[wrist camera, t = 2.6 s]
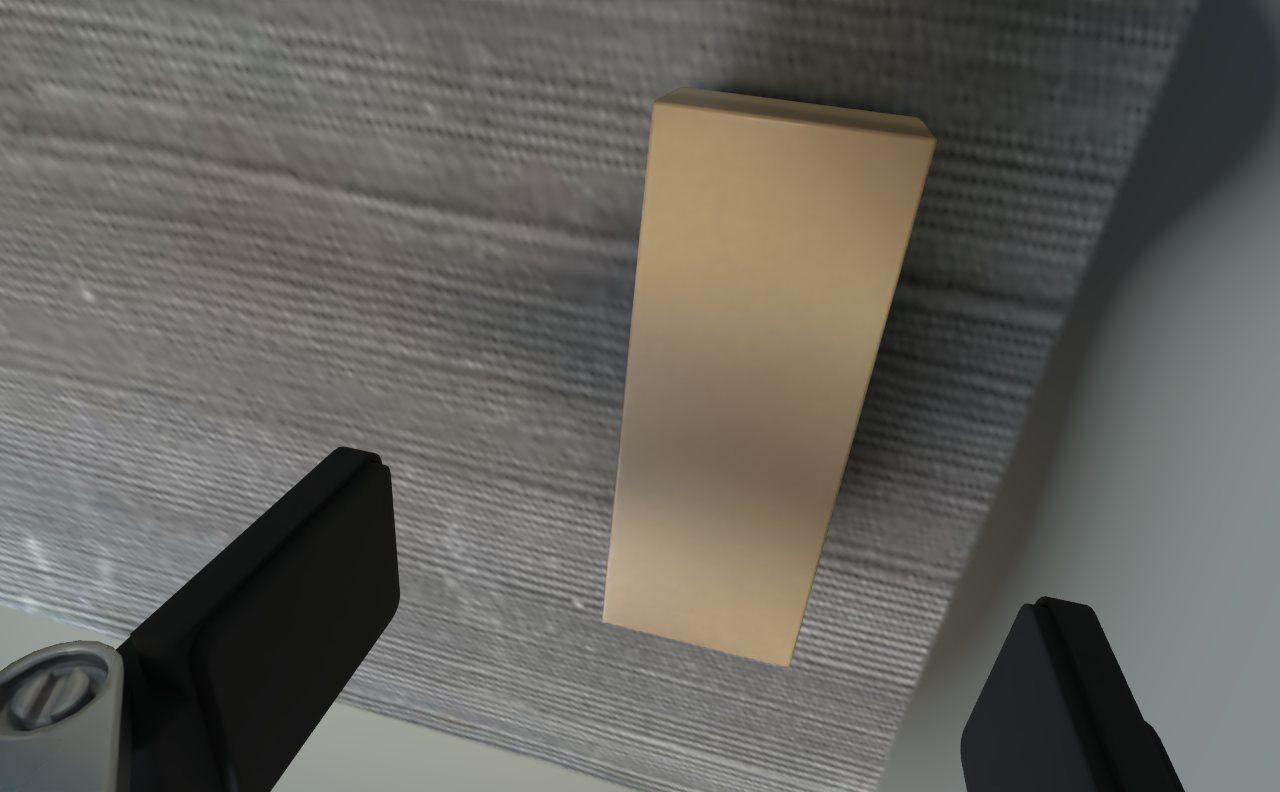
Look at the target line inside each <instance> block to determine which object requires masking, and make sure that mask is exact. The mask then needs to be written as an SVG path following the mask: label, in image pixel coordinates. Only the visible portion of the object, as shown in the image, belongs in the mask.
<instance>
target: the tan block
mask: <svg viewBox="0 0 1280 792" xmlns="http://www.w3.org/2000/svg"><path fill="white" fill-rule="evenodd" d="M935 147H936V138H935V137H934V136H933V135H932V133H931V132H930V131H929V130H928V128H927V127H926V126H925V124H924V123H923V122H922V121H921V119H919V118H917V117H909V116H901V115H894V114H886V113H878V112H871V111H863V110H856V109H848V108H840V107H833V106H825V105H817V104H810V103H802V102H794V101H787V100H779V99H771V98H764V97H756V96H748V95H741V94H733V93H725V92H718V91H710V90H703V89H695V88H687V87H680V88H678V89H676V90H674V91H672V92H670V93H669V94H667V95H665V96H663V97H661V98H659V99H657V100H656V101H654V103H653V105H652V115H651V126H650V136H649V146H648V156H647V166H646V177H645V187H644V197H643V207H642V217H641V227H640V238H639V248H638V258H637V268H636V278H635V288H634V299H633V309H632V319H631V329H630V339H629V350H628V360H627V370H626V380H625V390H624V400H623V411H622V421H621V431H620V441H619V451H618V461H617V472H616V482H615V492H614V502H613V512H612V523H611V533H610V543H609V553H608V563H607V573H606V584H605V594H604V604H603V614H602V620H603V622H606V623H610V624H614V625H618V626H622V627H626V628H630V629H634V630H638V631H642V632H646V633H650V634H654V635H658V636H662V637H666V638H670V639H674V640H679V641H683V642H687V643H691V644H695V645H699V646H703V647H707V648H711V649H715V650H719V651H723V652H727V653H731V654H735V655H739V656H743V657H748V658H752V659H756V660H760V661H764V662H768V663H772V664H776V665H780V666H784V667H789V666H790V664H791V660H792V657H793V653H794V649H795V646H796V642H797V639H798V635H799V632H800V628H801V625H802V621H803V617H804V614H805V610H806V607H807V603H808V600H809V596H810V592H811V589H812V585H813V582H814V578H815V575H816V571H817V567H818V564H819V560H820V557H821V553H822V550H823V546H824V542H825V539H826V535H827V532H828V528H829V525H830V521H831V517H832V514H833V510H834V507H835V503H836V500H837V496H838V493H839V489H840V485H841V482H842V478H843V475H844V471H845V468H846V464H847V460H848V457H849V453H850V450H851V446H852V443H853V439H854V435H855V432H856V428H857V425H858V421H859V418H860V414H861V410H862V407H863V403H864V400H865V396H866V393H867V389H868V386H869V382H870V378H871V375H872V371H873V368H874V364H875V361H876V357H877V353H878V350H879V346H880V343H881V339H882V336H883V332H884V328H885V325H886V321H887V318H888V314H889V311H890V307H891V303H892V300H893V296H894V293H895V289H896V286H897V282H898V279H899V275H900V271H901V268H902V264H903V261H904V257H905V254H906V250H907V246H908V243H909V239H910V236H911V232H912V229H913V225H914V221H915V218H916V214H917V211H918V207H919V204H920V200H921V196H922V193H923V189H924V186H925V182H926V179H927V175H928V172H929V168H930V164H931V161H932V157H933V154H934V150H935Z"/></svg>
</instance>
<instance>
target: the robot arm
mask: <svg viewBox="0 0 1280 792" xmlns="http://www.w3.org/2000/svg"><path fill="white" fill-rule="evenodd" d="M399 600H400V587H399V574H398V561H397V548H396V535H395V522H394V509H393V496H392V483H391V473H390V469H389V467H388V466H386V465H383V464H382V461H381V458H380V456H379V455H378V454H376V453H372V452H367V451H362V450H358V449H353V448H348V447H338V448H337V449H335V450H334V451H333V452H332V453H331V454H329V455H328V456H327V457H326V458H325V459H324V460H323V461H322V462H321V463H319V464H318V465H317V466H316V467H315V468H314V469H313V470H312V471H311V472H310V473H308V474H307V475H306V476H305V477H304V478H303V479H302V480H301V481H300V482H298V483H297V484H296V485H295V486H294V487H293V488H292V489H291V490H290V491H288V492H287V493H286V494H285V495H284V496H283V497H282V498H281V499H280V500H278V501H277V502H276V503H275V504H274V505H273V506H272V507H271V508H270V509H268V510H267V511H266V512H265V513H264V514H263V515H262V516H261V517H260V518H258V519H257V520H256V521H255V522H254V523H253V524H252V525H251V526H250V527H248V528H247V529H246V530H245V531H244V532H243V533H242V534H241V535H240V536H238V537H237V538H236V539H235V540H234V541H233V542H232V543H231V544H230V545H228V546H227V547H226V548H225V549H224V550H223V551H222V552H221V553H220V554H219V555H217V556H216V557H215V558H214V559H213V560H212V561H211V562H210V563H209V564H207V565H206V566H205V567H204V568H203V569H202V570H201V571H200V572H199V573H197V574H196V575H195V576H194V577H193V578H192V579H191V580H190V581H189V582H187V583H186V584H185V585H184V586H183V587H182V588H181V589H180V590H179V591H177V592H176V593H175V594H174V595H173V596H172V597H171V598H170V599H169V600H167V601H166V602H165V603H164V604H163V605H162V606H161V607H160V608H159V609H157V610H156V611H155V612H154V613H153V614H152V615H151V616H150V617H149V618H147V619H146V620H145V621H144V622H143V623H142V624H141V625H140V626H139V627H138V628H136V629H135V630H134V631H133V632H132V633H131V634H130V635H131V636H130V637H129V638H128V639H127V640H126V641H125V642H124V643H123V644H122V645H120V646H119V648H117V649H116V650H115V649H114V648H113V647H111V646H109V645H106V644H103V643H101V642H97V641H73V642H67V643H60V644H56V645H53V646H50V647H47V648H43V649H41V650H37V651H34V652H32V653H31V654H28V655H26V656H24V657H23V658H21V659H19V660H17V661H15V662H13V663H11V664H10V665H8V666H7V667H6V668H4V669H3V670H1V671H0V792H270V791H271V790H272V788H273V787H274V786H275V784H276V783H277V781H278V780H279V779H280V777H281V776H282V774H283V773H284V771H285V770H286V769H287V767H288V766H289V764H290V763H291V761H292V760H293V759H294V757H295V756H296V754H297V753H298V751H299V750H300V749H301V747H302V746H303V745H304V743H305V742H306V740H307V739H308V737H309V736H310V734H311V733H312V732H313V730H314V729H315V728H316V726H317V725H318V723H319V722H320V720H321V719H322V718H323V716H324V715H325V713H326V712H327V711H328V709H329V708H330V706H331V705H332V703H333V702H334V701H335V699H336V698H337V696H338V695H339V694H340V692H341V691H342V689H343V688H344V686H345V685H346V684H347V682H348V681H349V679H350V678H351V677H352V675H353V674H354V672H355V671H356V669H357V668H358V667H359V665H360V664H361V662H362V661H363V660H364V658H365V657H366V655H367V654H368V652H369V651H370V650H371V648H372V647H373V645H374V644H375V643H376V641H377V640H378V638H379V637H380V635H381V634H382V633H383V631H384V630H385V628H386V627H387V626H388V624H389V623H390V621H391V620H392V618H393V617H394V615H395V613H396V610H397V608H398V604H399ZM961 761H962V766H963V771H964V777H965V782H966V787H967V792H1185V791H1184V789H1183V787H1182V784H1181V782H1180V780H1179V778H1178V776H1177V774H1176V772H1175V769H1174V767H1173V765H1172V763H1171V761H1170V759H1169V757H1168V755H1167V752H1166V750H1165V748H1164V746H1163V744H1162V742H1161V739H1160V738H1159V736H1158V735H1157V733H1156V732H1155V730H1154V728H1153V727H1152V726H1151V725H1149V724H1148V723H1147V722H1146V721H1144V719H1143V717H1142V715H1141V712H1140V710H1139V708H1138V706H1137V704H1136V701H1135V699H1134V697H1133V695H1132V693H1131V690H1130V688H1129V687H1128V684H1127V682H1126V679H1125V677H1124V675H1123V673H1122V671H1121V668H1120V666H1119V664H1118V662H1117V660H1116V658H1115V655H1114V653H1113V651H1112V649H1111V647H1110V644H1109V642H1108V640H1107V638H1106V636H1105V634H1104V631H1103V629H1102V627H1101V625H1100V623H1099V621H1098V618H1097V616H1096V614H1095V612H1094V611H1093V609H1092V608H1091V607H1089V606H1088V605H1084V604H1079V603H1075V602H1070V601H1065V600H1060V599H1056V598H1051V597H1046V596H1045V597H1041V598H1039V599H1038V600H1037V601H1036V603H1035V605H1032V604H1024V605H1023V606H1022V607H1021V609H1020V611H1019V612H1018V615H1017V617H1016V619H1015V621H1014V623H1013V625H1012V627H1011V630H1010V632H1009V634H1008V636H1007V638H1006V640H1005V642H1004V645H1003V647H1002V649H1001V651H1000V653H999V655H998V658H997V660H996V662H995V664H994V666H993V668H992V670H991V673H990V675H989V677H988V679H987V681H986V683H985V685H984V687H983V690H982V692H981V694H980V696H979V698H978V700H977V702H976V705H975V707H974V709H973V711H972V713H971V715H970V717H969V720H968V722H967V724H966V726H965V728H964V731H963V734H962V738H961Z"/></svg>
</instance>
